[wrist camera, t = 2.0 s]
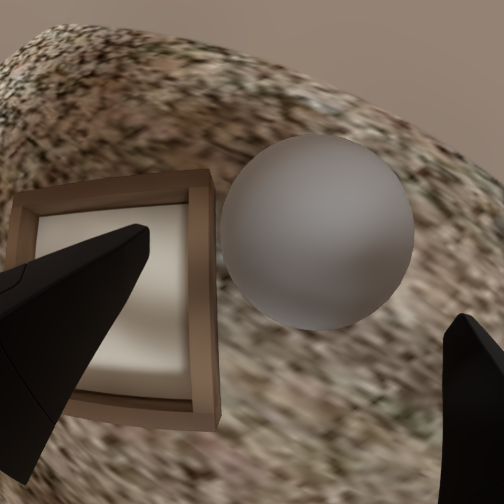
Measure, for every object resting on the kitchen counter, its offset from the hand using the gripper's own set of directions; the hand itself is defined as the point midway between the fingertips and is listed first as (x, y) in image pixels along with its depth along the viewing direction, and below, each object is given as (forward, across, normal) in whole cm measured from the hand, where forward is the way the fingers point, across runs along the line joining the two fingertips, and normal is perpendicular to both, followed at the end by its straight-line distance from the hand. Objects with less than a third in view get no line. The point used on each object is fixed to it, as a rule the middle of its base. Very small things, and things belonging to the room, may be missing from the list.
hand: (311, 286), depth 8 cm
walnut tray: (+5, +10, +9) cm, 14 cm away
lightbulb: (+8, 0, +6) cm, 10 cm away
